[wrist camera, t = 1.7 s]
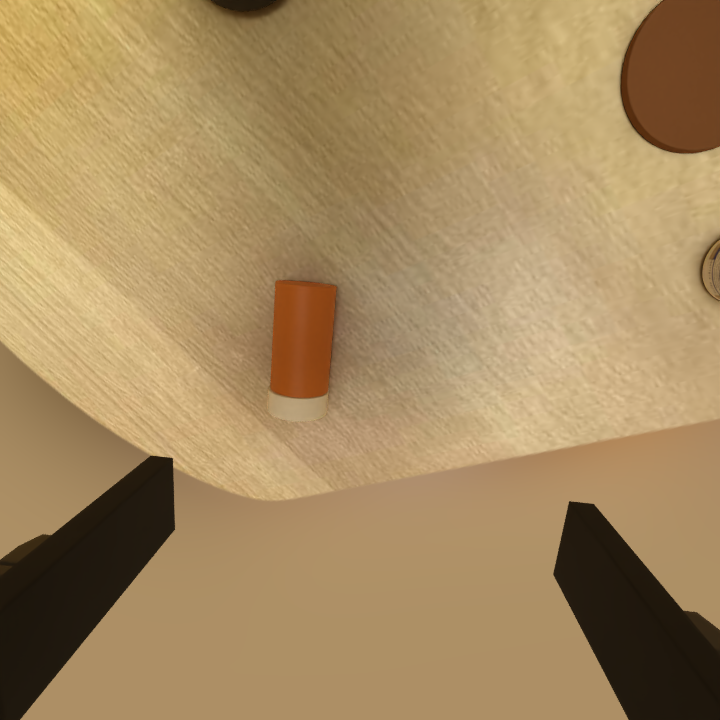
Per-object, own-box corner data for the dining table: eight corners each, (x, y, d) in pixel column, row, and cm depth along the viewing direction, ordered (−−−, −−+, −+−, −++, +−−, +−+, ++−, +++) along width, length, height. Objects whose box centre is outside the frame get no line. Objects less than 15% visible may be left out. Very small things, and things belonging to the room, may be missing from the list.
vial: (294, 279, 33) (260, 280, 29) (347, 286, 31) (319, 288, 27) (287, 396, 35) (254, 413, 31) (336, 408, 34) (309, 427, 30)
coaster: (642, -26, 26) (649, -34, 26) (808, -15, 26) (820, -24, 25) (604, 147, 29) (610, 143, 28) (756, 159, 28) (766, 156, 27)
